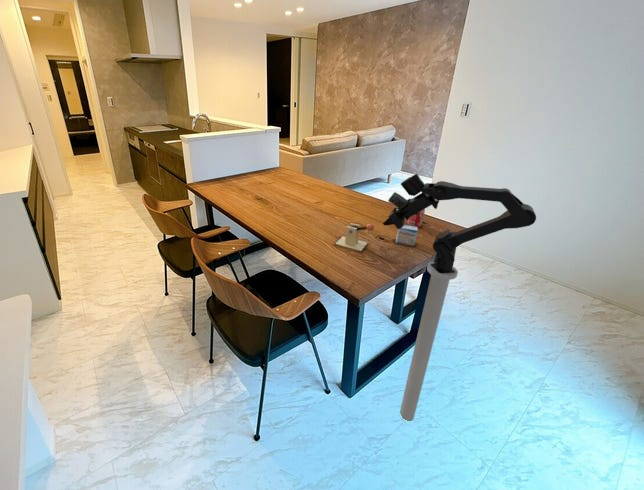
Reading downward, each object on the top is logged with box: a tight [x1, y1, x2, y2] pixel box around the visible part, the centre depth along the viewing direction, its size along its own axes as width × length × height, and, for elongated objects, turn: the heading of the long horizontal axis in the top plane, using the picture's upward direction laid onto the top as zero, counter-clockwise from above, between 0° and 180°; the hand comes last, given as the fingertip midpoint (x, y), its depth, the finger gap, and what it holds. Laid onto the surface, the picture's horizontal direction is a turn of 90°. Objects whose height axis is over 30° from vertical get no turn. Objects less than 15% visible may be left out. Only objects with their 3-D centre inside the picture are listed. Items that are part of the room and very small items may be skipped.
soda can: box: [406, 208, 426, 228], centre depth 152 cm, size 7×7×12 cm
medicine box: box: [395, 224, 419, 247], centre depth 135 cm, size 8×4×9 cm, turn 68°
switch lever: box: [351, 223, 375, 232], centre depth 130 cm, size 11×3×3 cm, turn 57°
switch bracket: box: [335, 222, 368, 252], centre depth 134 cm, size 12×9×10 cm
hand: (383, 224), depth 124 cm, fingers closed
